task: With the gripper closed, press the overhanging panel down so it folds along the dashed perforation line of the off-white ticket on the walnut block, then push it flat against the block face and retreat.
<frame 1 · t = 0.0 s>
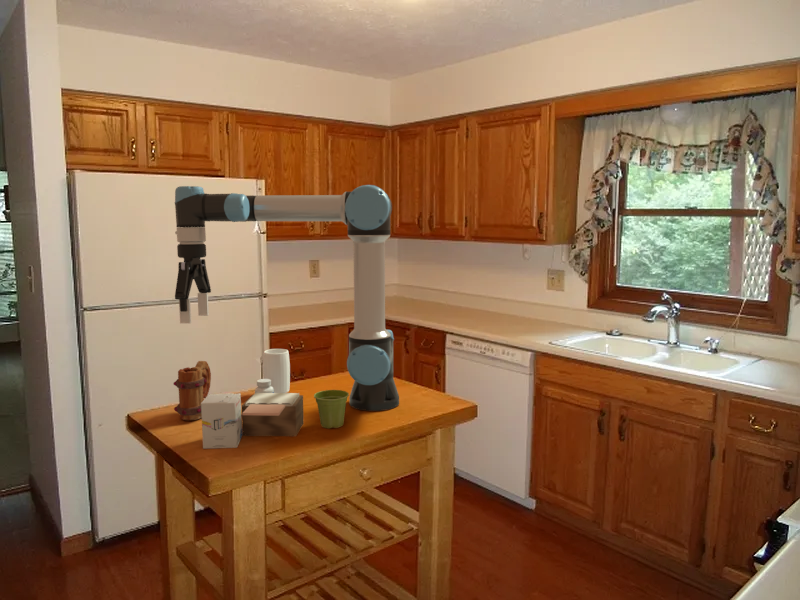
hand: (194, 319, 173), 28 cm above the table, fingers open, 13 cm apart
pill bottle: (265, 413, 179), on the table
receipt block: (274, 429, 165), on the table
cup: (277, 395, 198), on the table
ink box: (223, 443, 155), on the table
panel: (264, 409, 154), point 8 cm above the table, hinge at 0.0°
mug: (196, 416, 177), on the table
plant pot: (332, 425, 168), on the table
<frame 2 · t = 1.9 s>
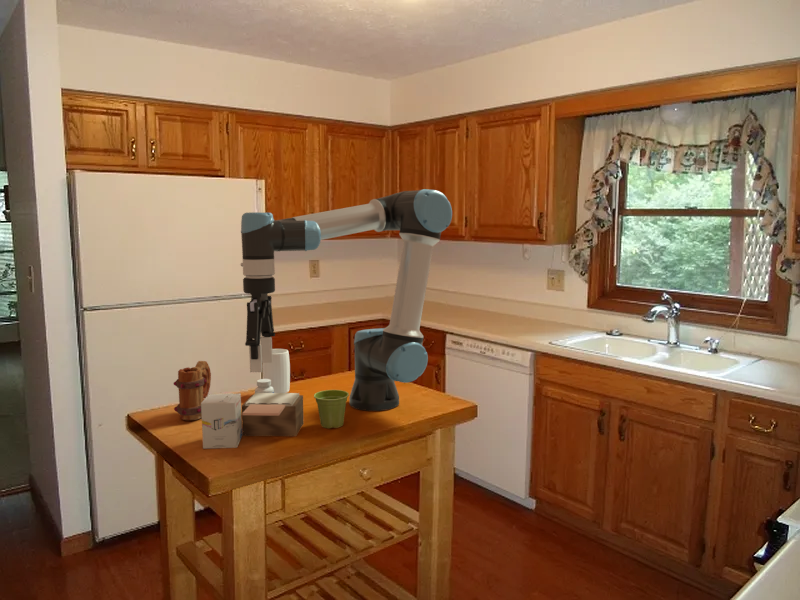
hand: (261, 366, 152), 20 cm above the table, fingers open, 9 cm apart
nothing on the table moved.
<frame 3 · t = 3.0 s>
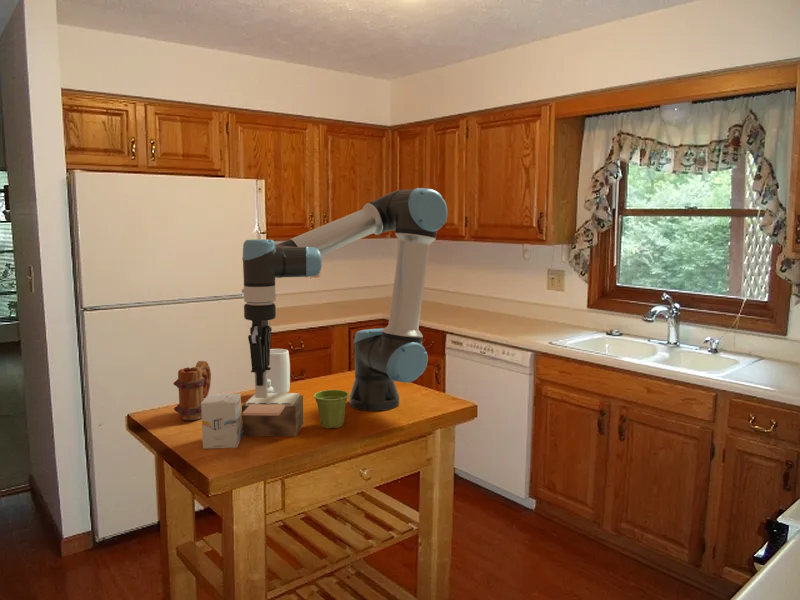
hand: (261, 397, 153), 12 cm above the table, fingers closed
nothing on the table moved.
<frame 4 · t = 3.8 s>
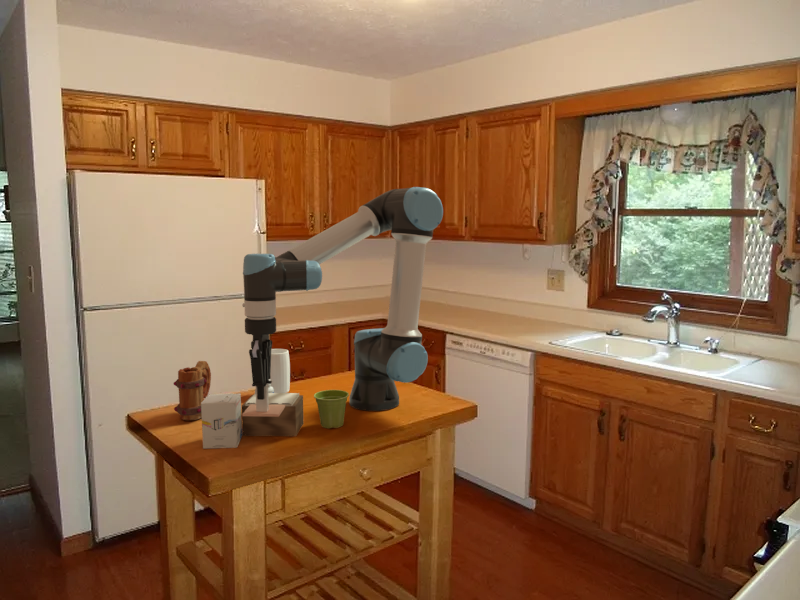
hand: (262, 410, 153), 8 cm above the table, fingers closed, pressing on panel
panel: (264, 410, 154), point 8 cm above the table, hinge at 2.1°, touching gripper
everything else where it was.
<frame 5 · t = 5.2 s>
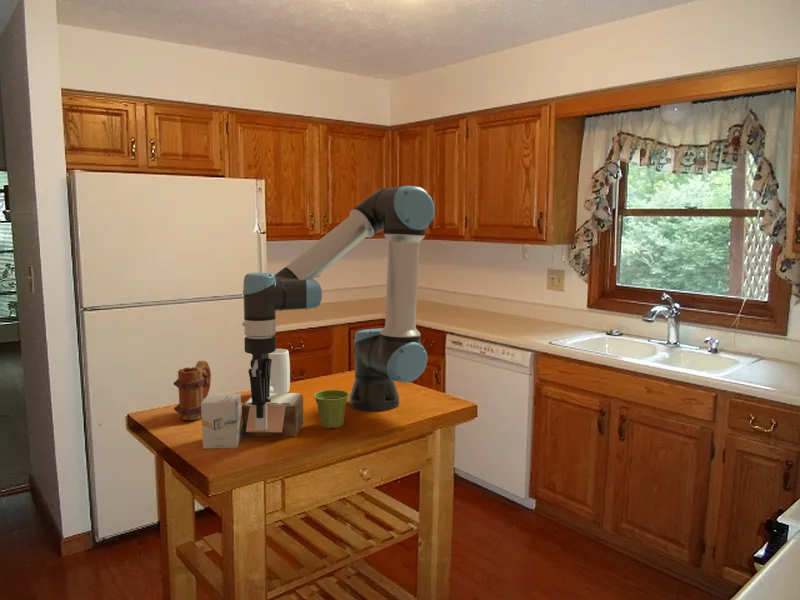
hand: (261, 428, 154), 4 cm above the table, fingers closed
panel: (265, 418, 156), point 6 cm above the table, hinge at 50.0°, touching gripper
everything else where it was.
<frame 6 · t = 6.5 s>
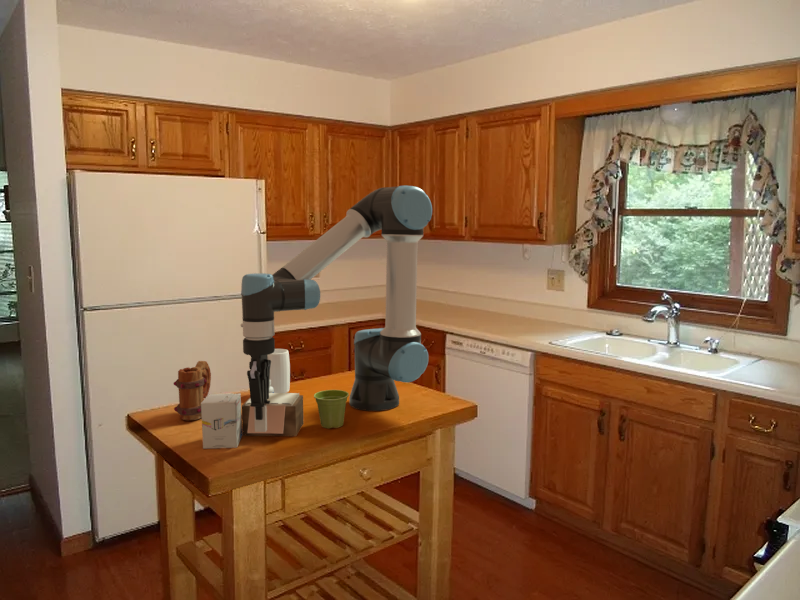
hand: (261, 430, 153), 4 cm above the table, fingers closed
panel: (266, 419, 157), point 5 cm above the table, hinge at 62.5°
everything else where it was.
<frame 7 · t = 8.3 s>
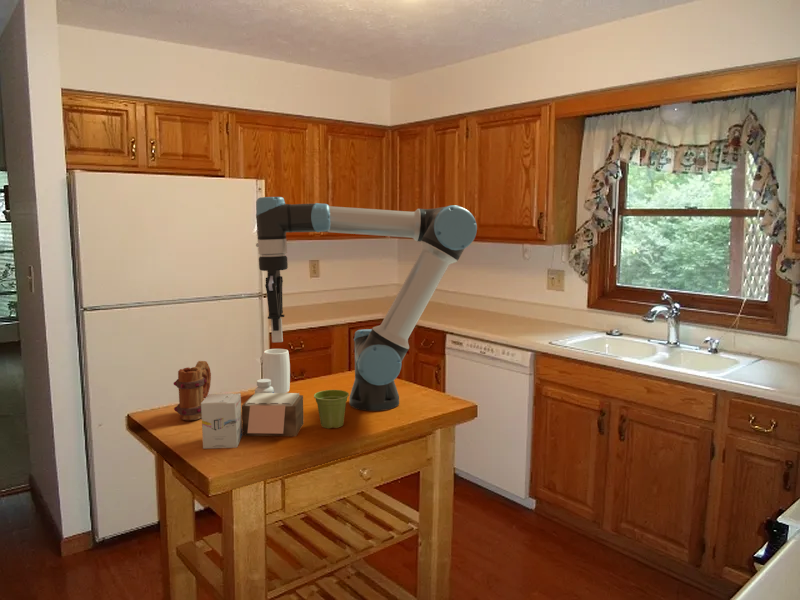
hand: (277, 341, 168), 23 cm above the table, fingers closed
panel: (266, 419, 157), point 5 cm above the table, hinge at 62.9°
everything else where it was.
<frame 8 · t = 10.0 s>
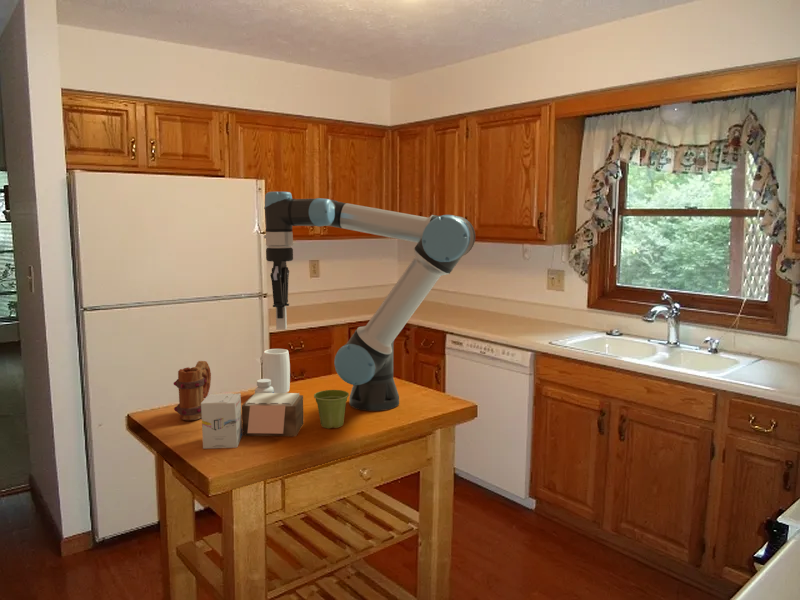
hand: (281, 329, 177), 24 cm above the table, fingers closed
nothing on the table moved.
at the end: panel at +63° (first picture: +0°); panel touching nothing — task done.
